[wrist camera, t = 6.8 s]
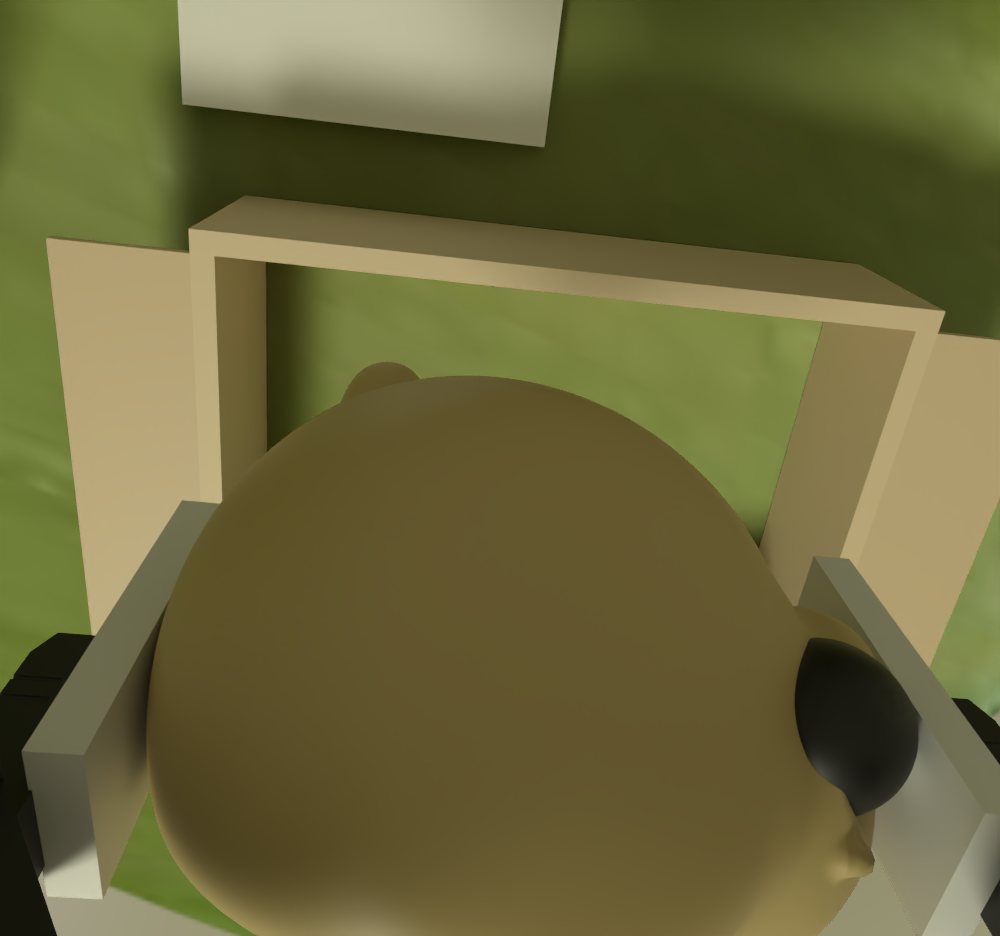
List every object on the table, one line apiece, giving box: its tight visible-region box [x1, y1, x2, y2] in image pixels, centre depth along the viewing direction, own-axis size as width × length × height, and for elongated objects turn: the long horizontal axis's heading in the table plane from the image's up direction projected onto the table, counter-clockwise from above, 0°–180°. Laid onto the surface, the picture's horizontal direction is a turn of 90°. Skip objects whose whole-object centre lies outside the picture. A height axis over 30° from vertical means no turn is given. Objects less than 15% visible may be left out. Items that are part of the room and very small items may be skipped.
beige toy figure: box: [146, 362, 919, 936], centre depth 15 cm, size 10×12×11 cm
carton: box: [46, 195, 1000, 667], centre depth 31 cm, size 16×30×6 cm, turn 84°
